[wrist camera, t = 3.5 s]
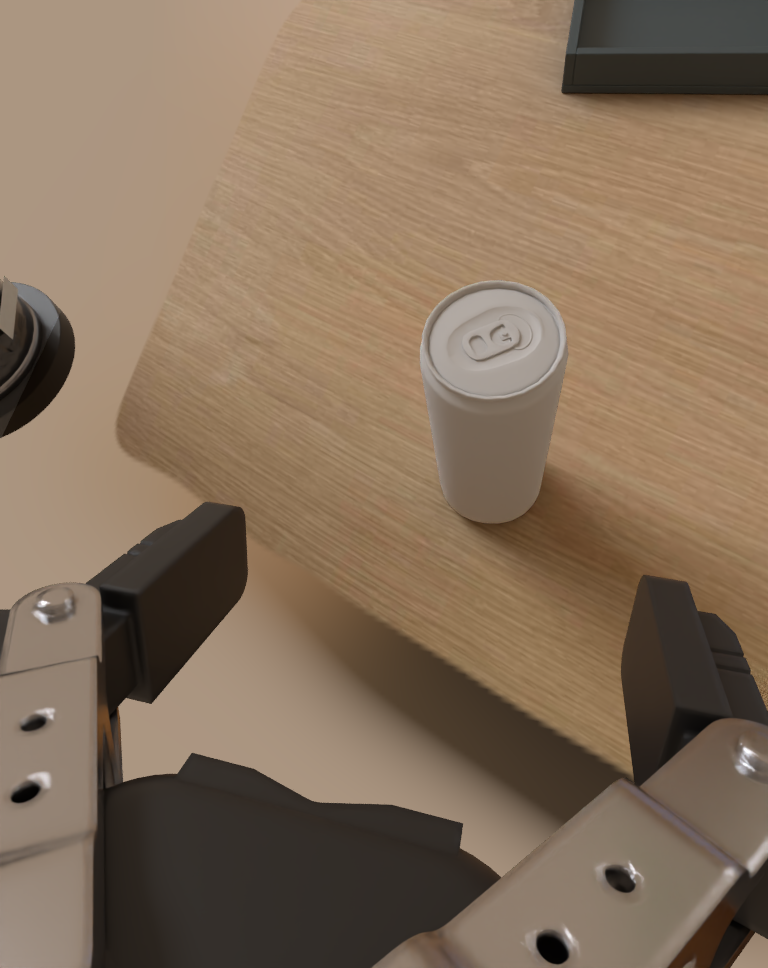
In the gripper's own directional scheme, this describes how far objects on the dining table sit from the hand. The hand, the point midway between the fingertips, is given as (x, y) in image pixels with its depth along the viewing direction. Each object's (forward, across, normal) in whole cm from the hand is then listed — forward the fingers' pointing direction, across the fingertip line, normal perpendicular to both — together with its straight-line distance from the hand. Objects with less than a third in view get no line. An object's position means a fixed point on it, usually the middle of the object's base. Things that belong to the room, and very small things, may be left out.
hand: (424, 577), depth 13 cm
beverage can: (+18, 0, +6) cm, 19 cm away
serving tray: (+42, -9, -19) cm, 47 cm away
